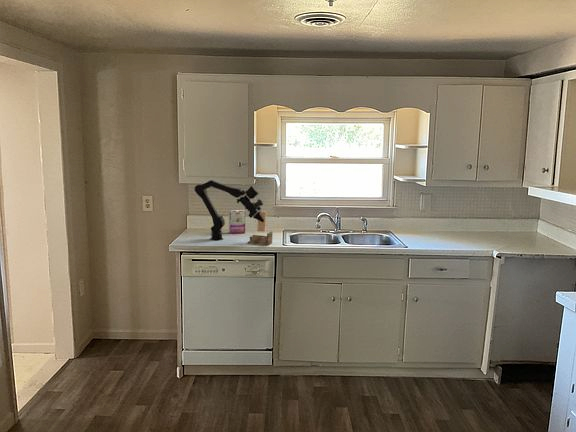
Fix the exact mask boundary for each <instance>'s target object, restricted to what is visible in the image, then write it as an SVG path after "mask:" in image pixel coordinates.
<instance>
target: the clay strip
mask: <svg viewBox="0 0 576 432" xmlns="http://www.w3.org/2000/svg"><path fill="white" fill-rule="evenodd" d="M259 211H260V210H259ZM259 211H258V212H259ZM260 215H261V217H262V218H263V220H264V222H261V221H259V220H257V232H263V233H265V232H266V230H267V229H266V227H267V226H266V225H267V211H265V210H264V211H263V210H261V211H260Z"/></svg>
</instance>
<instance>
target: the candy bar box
mask: <svg viewBox="0 0 576 432" xmlns="http://www.w3.org/2000/svg"><path fill="white" fill-rule="evenodd" d="M228 234H230V235H233V234H234V235H237V234H246V210H245V209H237V210H234V209H231V210H228Z"/></svg>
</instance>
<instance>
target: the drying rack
mask: <svg viewBox="0 0 576 432" xmlns="http://www.w3.org/2000/svg"><path fill="white" fill-rule="evenodd" d="M247 244H248V245H258V246H259V245H260V246H270V245H271V244H273V231H270V232H268V233H267V234H266V235H259V234H258V235H257V234H252V235H250V236H249V241H247Z"/></svg>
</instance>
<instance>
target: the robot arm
mask: <svg viewBox="0 0 576 432" xmlns="http://www.w3.org/2000/svg"><path fill="white" fill-rule="evenodd" d="M211 187H212V188H215V189H218V190H220V191H223V192H225V193H227V194H229V195H231V196H232V197H234V198H237V199H236V203H237V204H239V203H241V205H243V207H244V210H247V211H248V212H249V213H248V217H249V218H250V219H255V220H257V221H258V220H259V221H261V222H264V220H263V218H262V217H261V215H260V211H262V206H264V204H265V203H264V200H263V199H260V198H259V199H257V201H256V202H254V201H252V200H254V199H255V198H256V197H257V196H258V195H259V194H260V192H259V191H258V189H257V188H255V187H254V186H252V185H251V186H249V188H248V189H247V190H243V189H242V188H240V187H234V186H229V185H226V184H224V183H220V182H218V181H215V180H213V179H211V180H208V181H207V182H205V183H200V184H197V185H195V186H194V192H195V193H196V195H197V196H198V197H199V198H201V200H202V202H203V204H204V205H205V207H206V208H207V210H208V213H209V215H210V216H211V218H212V219H211V220H212V224H213V225H212V226H211V227H210V230H211V233H210V235H211V237H210V238H209V240H212V241H221V240H224V237H223V233H222V229H223V227H224V226H225V224H226V223H225V221H226V219H224V217H223V214H222V215H219V213H218V211H217V210H216V209H215V206H214V204H213V202H212V201H211V200H210V196H209V194H208V191H207V189H209V188H211ZM258 211H259V212H258Z"/></svg>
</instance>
